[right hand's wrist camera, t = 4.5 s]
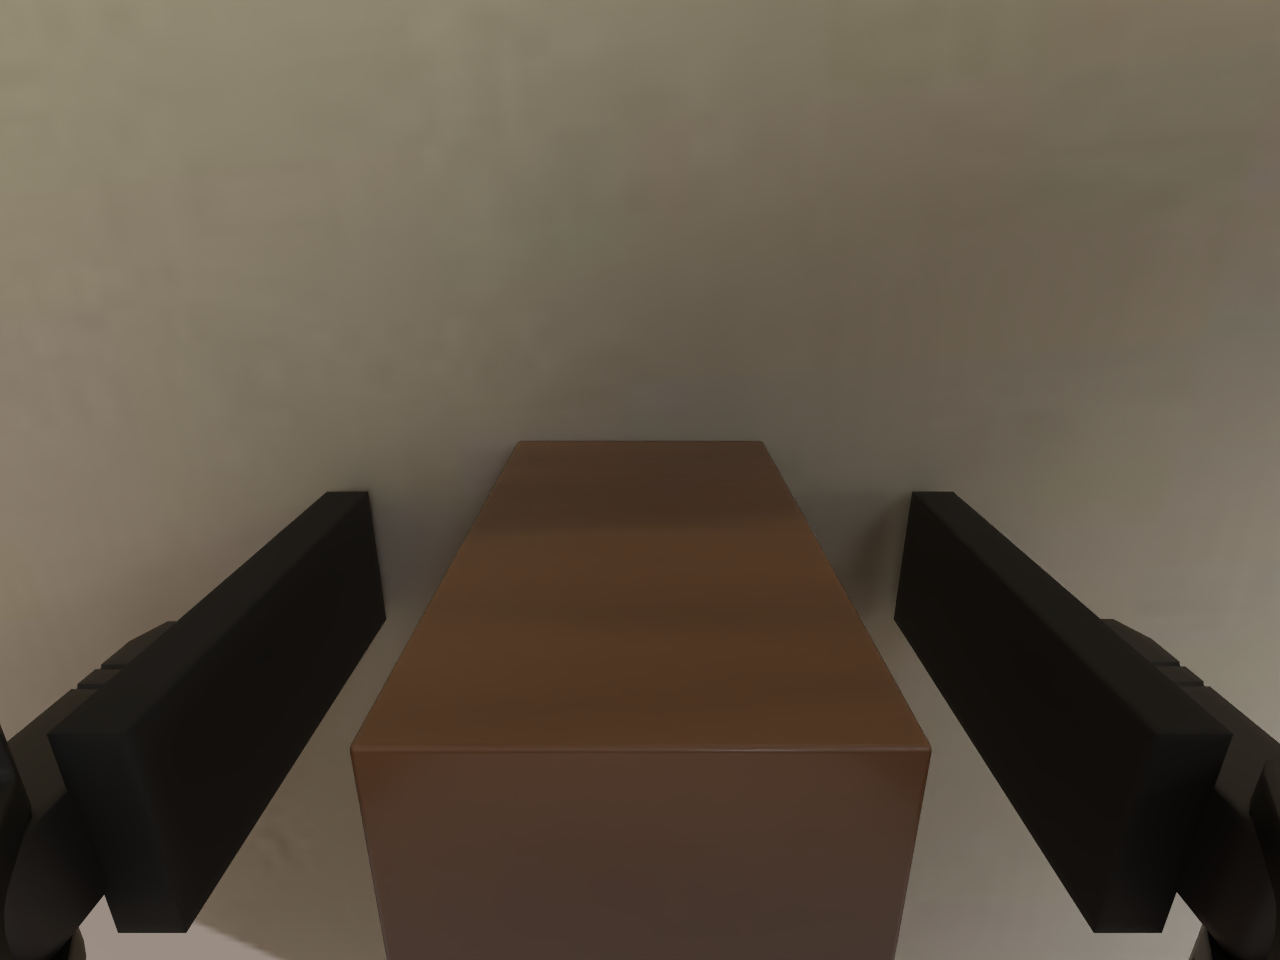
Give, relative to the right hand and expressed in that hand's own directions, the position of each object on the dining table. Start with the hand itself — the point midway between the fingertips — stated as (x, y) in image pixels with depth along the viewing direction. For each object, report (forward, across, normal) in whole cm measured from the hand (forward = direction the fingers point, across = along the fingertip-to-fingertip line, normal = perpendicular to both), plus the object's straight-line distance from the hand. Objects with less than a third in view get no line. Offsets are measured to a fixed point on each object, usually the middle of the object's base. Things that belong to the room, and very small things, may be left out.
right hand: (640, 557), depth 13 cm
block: (0, 0, 0) cm, 0 cm away
